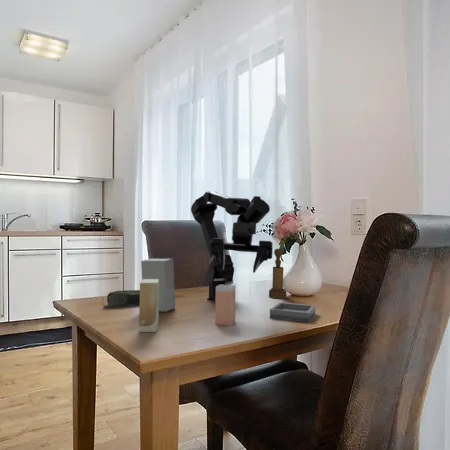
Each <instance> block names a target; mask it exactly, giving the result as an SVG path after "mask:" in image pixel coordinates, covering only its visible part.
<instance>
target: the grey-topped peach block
mask: <svg viewBox="0 0 450 450" xmlns="http://www.w3.org/2000/svg"><path fill="white" fill-rule="evenodd" d="M214 310H215V315H214V320H215V321H214V324H215V325H220V326H221V325H222V326H233V324H234V323H235V322H236V284H228V285H223V284H220V285H218V286H216V300H215V308H214Z"/></svg>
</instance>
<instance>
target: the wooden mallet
mask: <svg viewBox="0 0 450 450" xmlns="http://www.w3.org/2000/svg"><path fill="white" fill-rule="evenodd" d="M273 253H274V255H275V260H274V263H275V266H272V287H271V288H270V289H269V291H268V297H269V298H271V299H272V298H273V299H286V298H287V290H286V289H285V288H284V267H283V266H281V265H282V260H281V257H282V255H283V250H282V249H281V248H276V249H274V251H273Z"/></svg>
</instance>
